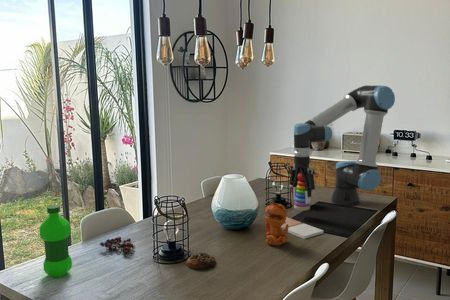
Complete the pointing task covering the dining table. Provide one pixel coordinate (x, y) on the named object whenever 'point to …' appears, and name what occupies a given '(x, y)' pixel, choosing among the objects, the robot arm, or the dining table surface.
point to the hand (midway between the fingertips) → (301, 201)
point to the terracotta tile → (290, 223)
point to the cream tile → (304, 231)
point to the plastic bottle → (56, 243)
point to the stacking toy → (301, 195)
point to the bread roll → (201, 261)
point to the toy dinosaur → (276, 224)
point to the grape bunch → (119, 245)
